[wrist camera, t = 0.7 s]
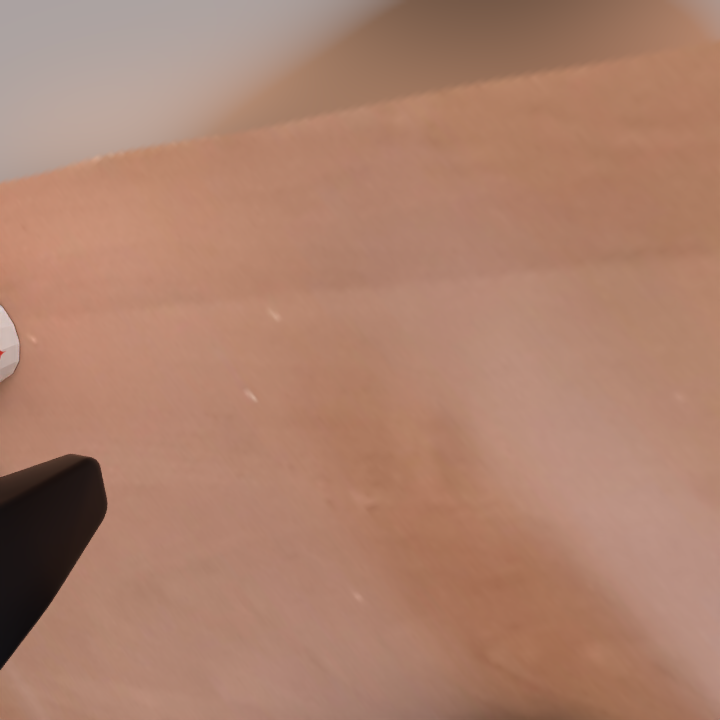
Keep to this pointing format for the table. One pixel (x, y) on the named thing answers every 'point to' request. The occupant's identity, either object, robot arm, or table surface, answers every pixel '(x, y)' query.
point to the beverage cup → (7, 346)
